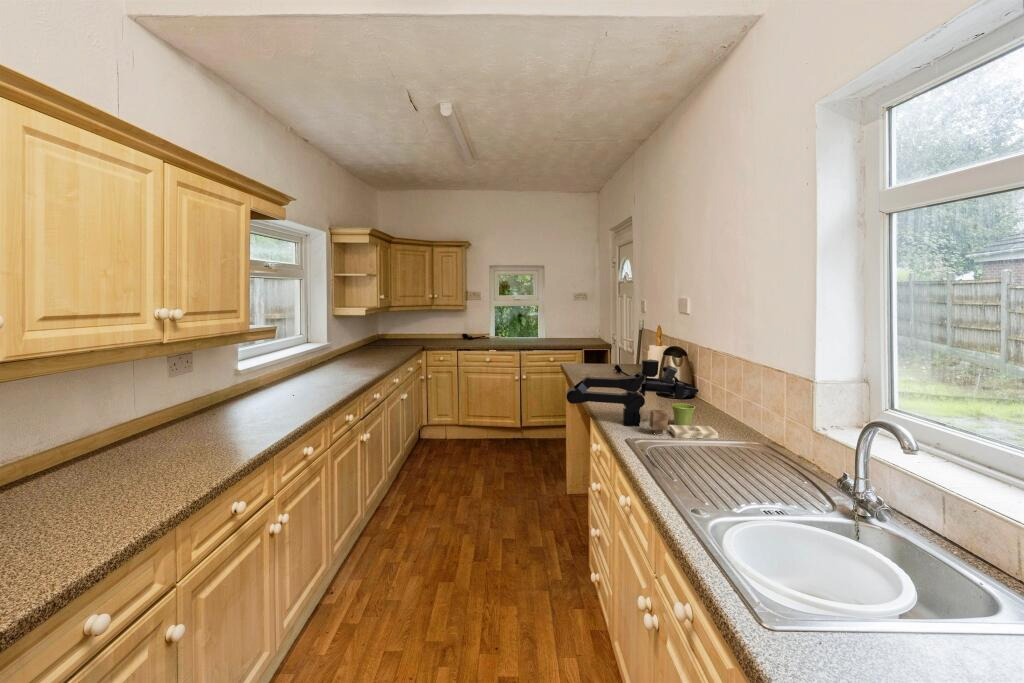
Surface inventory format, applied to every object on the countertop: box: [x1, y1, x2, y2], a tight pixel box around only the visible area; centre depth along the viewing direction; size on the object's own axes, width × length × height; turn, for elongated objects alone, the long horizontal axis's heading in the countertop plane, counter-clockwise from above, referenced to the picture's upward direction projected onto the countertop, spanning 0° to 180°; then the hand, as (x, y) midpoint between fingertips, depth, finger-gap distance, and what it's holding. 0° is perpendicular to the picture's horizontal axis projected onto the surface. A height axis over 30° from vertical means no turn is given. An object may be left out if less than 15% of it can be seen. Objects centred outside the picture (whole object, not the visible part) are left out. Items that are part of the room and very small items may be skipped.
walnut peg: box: [649, 409, 669, 435], centre depth 197 cm, size 6×6×9 cm
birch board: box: [668, 424, 719, 439], centre depth 196 cm, size 16×10×2 cm, turn 87°
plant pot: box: [671, 403, 696, 426], centre depth 208 cm, size 9×9×9 cm
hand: (695, 388), depth 206 cm, fingers open, 9 cm apart
